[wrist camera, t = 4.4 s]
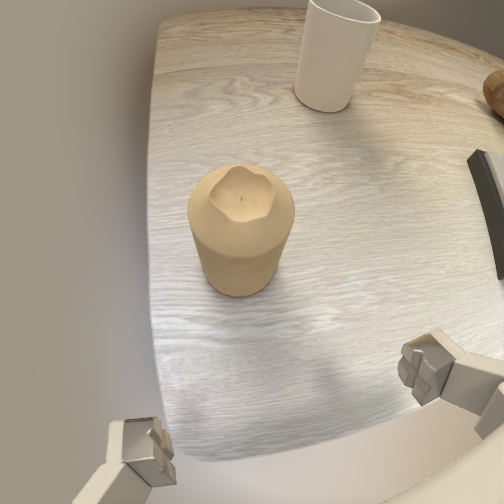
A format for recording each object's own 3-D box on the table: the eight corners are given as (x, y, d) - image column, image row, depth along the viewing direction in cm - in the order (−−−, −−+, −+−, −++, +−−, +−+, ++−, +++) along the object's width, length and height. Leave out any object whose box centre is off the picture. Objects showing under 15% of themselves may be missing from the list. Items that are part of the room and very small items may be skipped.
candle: (206, 301, 23) (186, 252, 13) (199, 233, 25) (182, 152, 15) (280, 293, 23) (311, 238, 14) (269, 226, 25) (287, 143, 16)
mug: (353, 119, 30) (389, 30, 19) (292, 109, 30) (312, 12, 19) (342, 69, 34) (365, -7, 23) (291, 60, 34) (305, -20, 23)
